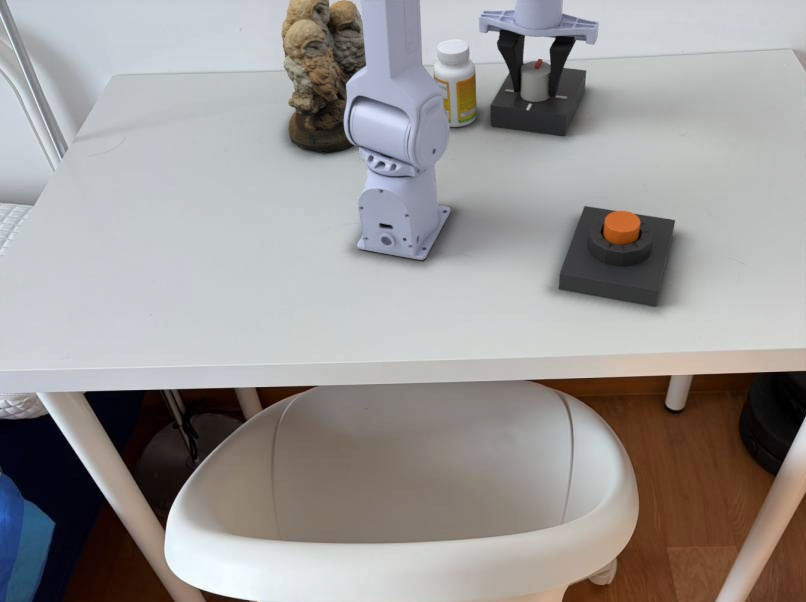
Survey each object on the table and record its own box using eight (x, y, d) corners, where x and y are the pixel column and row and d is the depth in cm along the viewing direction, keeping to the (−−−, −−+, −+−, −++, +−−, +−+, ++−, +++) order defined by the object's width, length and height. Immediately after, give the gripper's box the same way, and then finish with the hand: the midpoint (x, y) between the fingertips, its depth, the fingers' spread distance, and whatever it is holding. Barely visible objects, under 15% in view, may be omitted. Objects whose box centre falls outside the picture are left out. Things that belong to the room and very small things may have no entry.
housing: (655, 307, 80) (661, 277, 77) (558, 289, 82) (560, 259, 79) (672, 236, 87) (678, 205, 84) (583, 221, 89) (585, 191, 86)
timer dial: (547, 103, 101) (548, 75, 98) (516, 99, 102) (517, 71, 99) (554, 88, 104) (555, 60, 101) (524, 85, 104) (525, 57, 102)
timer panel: (564, 136, 101) (566, 114, 99) (490, 126, 104) (489, 104, 101) (584, 91, 109) (586, 69, 106) (514, 82, 111) (515, 60, 109)
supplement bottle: (478, 107, 107) (476, 36, 100) (475, 128, 103) (472, 56, 96) (439, 106, 107) (434, 36, 100) (434, 127, 104) (428, 56, 97)
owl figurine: (351, 165, 99) (328, 28, 86) (268, 151, 102) (234, 17, 89) (404, 95, 110) (391, -35, 97) (328, 84, 113) (305, -43, 100)
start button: (635, 248, 80) (637, 234, 79) (600, 242, 81) (601, 228, 80) (641, 227, 82) (643, 213, 81) (606, 221, 83) (608, 208, 82)
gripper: (607, -27, 93) (597, 82, 103) (489, -37, 96) (491, 70, 107) (595, -3, 89) (586, 109, 99) (472, -14, 92) (475, 95, 102)
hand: (535, 90), depth 102 cm, fingers open, 4 cm apart
